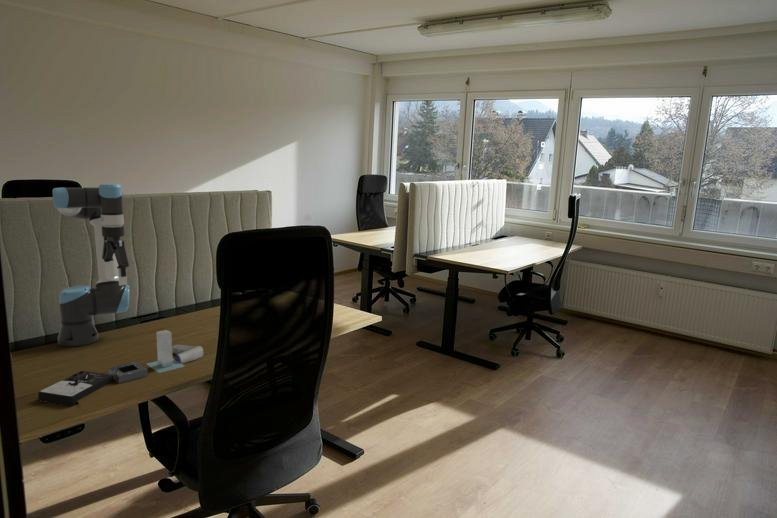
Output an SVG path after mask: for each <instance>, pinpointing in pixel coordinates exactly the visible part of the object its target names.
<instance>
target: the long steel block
mask: <svg viewBox="0 0 777 518" xmlns="http://www.w3.org/2000/svg"><path fill="white" fill-rule="evenodd" d="M155 334H156V349H157V350H156V352H157V353H156V354H157V361H158V365H159V366H161V367H162V368H164V367H168V366H172V365H173V359H174V357H173V353H172V346H173V338H172V332H171V331H170V330H168V329H164V330H160V331H156V333H155Z"/></svg>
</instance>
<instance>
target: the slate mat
mask: <svg viewBox="0 0 777 518" xmlns="http://www.w3.org/2000/svg"><path fill="white" fill-rule="evenodd" d="M146 365H147V366H148V367H150V368H151V369H152V370H154V371H155V372H157V373H158V374H161V373H165V372H169V371H172V370H173V371H174V370H177V369H181V368H184V367H186V366H185V365H184V364H183V363H179V362H178V361H176V358H173V365H172V366H168V367H164V368H162V367H161V366H159V365H158V360H155V361H153V362H152V361H151V362H147V363H146Z"/></svg>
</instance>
